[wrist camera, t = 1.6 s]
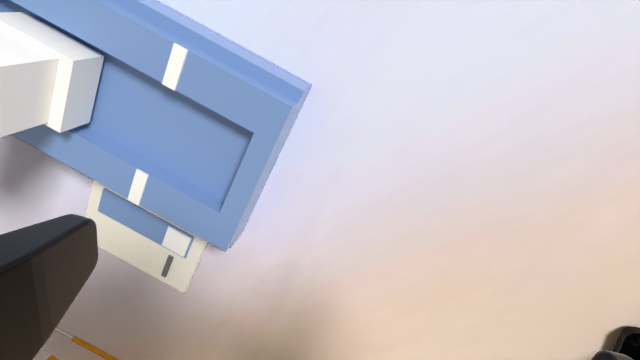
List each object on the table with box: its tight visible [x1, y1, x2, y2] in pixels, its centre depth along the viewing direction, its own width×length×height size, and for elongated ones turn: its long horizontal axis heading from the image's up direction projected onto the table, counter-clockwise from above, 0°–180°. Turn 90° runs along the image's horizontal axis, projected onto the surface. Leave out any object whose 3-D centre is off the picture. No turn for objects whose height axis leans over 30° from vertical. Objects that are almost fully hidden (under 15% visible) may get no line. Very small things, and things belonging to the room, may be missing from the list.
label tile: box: [85, 180, 208, 293], centre depth 23 cm, size 7×5×1 cm
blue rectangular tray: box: [0, 0, 312, 252], centre depth 19 cm, size 15×9×3 cm, turn 64°
